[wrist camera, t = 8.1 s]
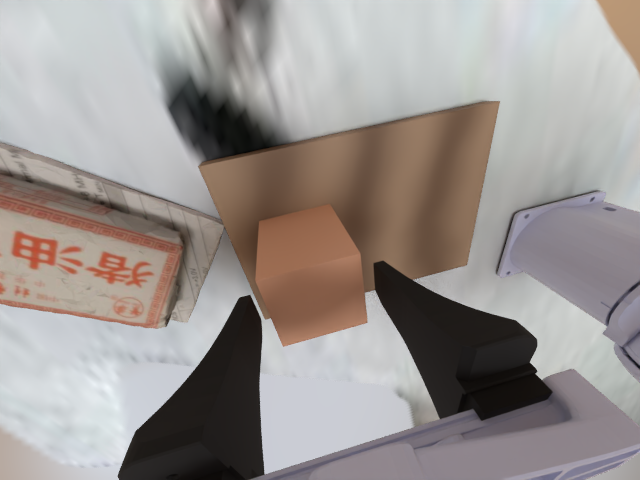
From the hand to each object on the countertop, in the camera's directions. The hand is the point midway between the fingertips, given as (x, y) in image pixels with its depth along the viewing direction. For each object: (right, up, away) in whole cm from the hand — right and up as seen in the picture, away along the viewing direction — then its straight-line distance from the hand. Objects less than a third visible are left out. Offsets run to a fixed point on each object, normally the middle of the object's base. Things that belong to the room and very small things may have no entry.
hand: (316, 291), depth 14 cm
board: (+3, +5, +6) cm, 8 cm away
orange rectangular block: (-1, +3, +5) cm, 6 cm away
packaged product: (-17, +4, +3) cm, 17 cm away
